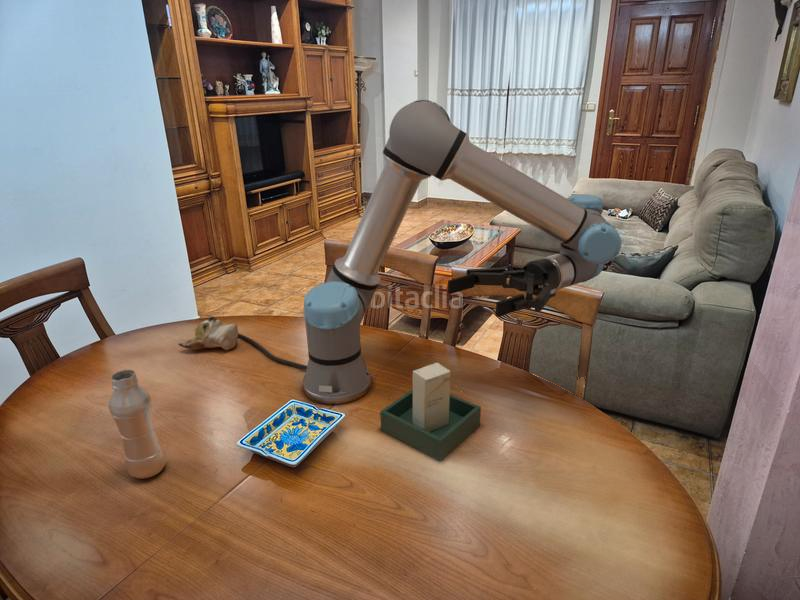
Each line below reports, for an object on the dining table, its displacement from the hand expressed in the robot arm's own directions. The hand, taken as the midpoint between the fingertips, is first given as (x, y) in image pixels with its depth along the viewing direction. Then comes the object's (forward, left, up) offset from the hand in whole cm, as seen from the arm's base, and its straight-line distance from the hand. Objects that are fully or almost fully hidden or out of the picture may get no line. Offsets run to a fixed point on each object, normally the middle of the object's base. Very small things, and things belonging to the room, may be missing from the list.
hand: (471, 297), depth 98 cm
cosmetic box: (-3, -9, -25) cm, 27 cm away
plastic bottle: (-35, -51, -26) cm, 67 cm away
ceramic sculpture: (-69, -17, -26) cm, 75 cm away
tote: (-3, -9, -26) cm, 28 cm away
